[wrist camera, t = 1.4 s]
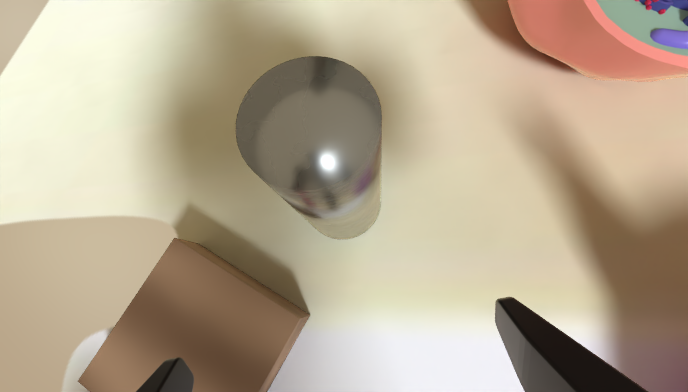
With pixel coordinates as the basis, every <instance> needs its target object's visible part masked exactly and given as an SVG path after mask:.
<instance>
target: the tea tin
mask: <svg viewBox="0 0 688 392" xmlns="http://www.w3.org/2000/svg"><path fill="white" fill-rule="evenodd" d="M381 120H382V115H381V106H380V103H379V99H378V96H377V94H376V92H375V90H374V88H373V86H372V85H371V83H370V82H369V81H368V80H367V78H366V77H365V76H364V75H363V74H362V73H360V72H359V71H358V70H357V69H355V68H354V67H352V66H351V65H349V64H347V63H345V62H342V61H339V60H336V59H332V58H328V57H319V56H315V57H302V58H297V59H293V60H290V61H287V62H284V63H282V64H280V65H278V66H276V67H274V68H272V69H271V70H269V71H268V72H266V73H265V74H264V75H263V76H261V77H260V78H259V79H258V80H257V81H256V82H255V83H254V84H253V85H252V87H251V88H250V89H249V90H248V92H247V94H246V95H245V97H244V99H243V101H242V103H241V105H240V108H239V111H238V114H237V120H236V138H237V143H238V147H239V150H240V152H241V155H242V157H243V158H244V160H245V162H246V163H247V165H248V166H249V167H250V168H251V169H252V170H253V171H254V172H255V173H256V174H257V175H258V176H259V177H260V178H261V179H262V180H263V181H264V182H266V183H267V184H268V185H269V186H270V187H271V188H272V189H273V190H274V191H275V192H276V193H278V194H279V195H280V196H281V197H282V198H283V199H284V200H285V201H286V202H287V203H288V204H290V205H291V206H292V207H293V208H294V209H295V210H296V211H297V212H298V213H299V214H301V215H302V216H303V217H304V218H305V219H306V220H307V221H308V222H309V223H310V224H311V225H313V226H314V227H315V228H316V229H317V230H318V231H319V232H321V233H322V234H324V235H326V236H328V237H331V238H334V239H350V238H354V237H357V236H359V235H361V234H363V233H364V232H366V231H367V230H368V229H369V228H370V227H371V226H372V225H373V224H374V222H375V221H376V219H377V217H378V214H379V211H380V206H381Z"/></svg>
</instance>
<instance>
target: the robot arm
mask: <svg viewBox="0 0 688 392" xmlns="http://www.w3.org/2000/svg"><path fill="white" fill-rule="evenodd" d="M495 322H496V326H497V329H498V331H499V333H500V336H501V338H502V341H503V343H504V345H505V348H506V350H507V352H508V355H509V357H510V359H511V362H512V364H513V367H514V369H515V371H516V374H517V376H518V378H519V380H520V383H521V385H522V387H523V389H524V391H525V392H648V391H647V390H645V389H644V388H642V387H641V386H639V385H638V384H637V383H635V382H634V381H632V380H631V379H629V378H628V377H626V376H625V375H624V374H622V373H621V372H619V371H618V370H616V369H615V368H614V367H612V366H611V365H609V364H608V363H606V362H605V361H604V360H602V359H601V358H599V357H598V356H596V355H595V354H593V353H592V352H591V351H589V350H588V349H586V348H585V347H583V346H582V345H581V344H579V343H578V342H576V341H575V340H573V339H572V338H571V337H569V336H568V335H566V334H565V333H563V332H562V331H560V330H559V329H558V328H556V327H555V326H553V325H552V324H550V323H549V322H548V321H546V320H545V319H543V318H542V317H540V316H539V315H538V314H536V313H535V312H533V311H532V310H530V309H529V308H527V307H526V306H525V305H523V304H522V303H520V302H519V301H517V300H516V299H515V298H512V297H506V298H500V299H497V300H496V306H495ZM193 385H194V375H193V373H192V371H191V370H190V368H189V367H188V365H187V364H186V363H185V361H184V360H183V359H182V358H181V357H176V358H171V359H167V360H165V361H164V362H163V363H162V364H161V365H160V366H159V367H158V368H157V369H156V370H155V371H154V373H153V374H152V375H151V376H150V377H149V378H148V379H147V380H146V381H145V382H144V383H143V384H142V385H141V387H140V388H139V389H138V390H137V391H136V392H192V391H193Z"/></svg>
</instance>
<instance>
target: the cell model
mask: <svg viewBox="0 0 688 392" xmlns="http://www.w3.org/2000/svg"><path fill="white" fill-rule="evenodd" d="M507 2H508V5H509V8H510V11H511V14H512V17H513V20H514V22H515V25H516V27H517V29H518V31H519V33H520V34H521V36H522V37H523V38H524V40H525V41H526V42H527V43H528V44H529V45H530V46H531V47H532V48H534V49H536V50H537V51H539V52H541V53H544V54H546V55H548V56H550V57H552V58H554V59H556V60H558V61H560V62H562V63H564V64H566V65H568V66H569V67H571V68H573V69H574V70H576V71H578V72H579V73H581V74H583V75H584V76H587V77H590V78H592V79H596V80H625V81H637V82H648V81H658V80H664V79H671V78H684V77H688V0H507Z"/></svg>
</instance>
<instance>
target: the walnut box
mask: <svg viewBox="0 0 688 392" xmlns="http://www.w3.org/2000/svg"><path fill="white" fill-rule="evenodd" d="M309 316H310V314H308V313H306V312H305V311H303V310H302V309H300V308H299V307H297V306H295V305H294V304H292V303H291V302H289V301H288V300H286V299H284V298H283V297H281V296H280V295H278V294H277V293H275V292H273V291H272V290H270V289H269V288H267V287H266V286H264V285H262V284H261V283H259V282H258V281H256V280H255V279H253V278H251V277H250V276H248V275H247V274H245V273H244V272H242V271H240V270H239V269H237V268H236V267H234V266H233V265H231V264H229V263H228V262H226V261H225V260H223V259H222V258H220V257H218V256H217V255H215V254H214V253H212V252H211V251H209V250H207V249H206V248H204V247H203V246H201V245H200V244H198V243H193V242H189V241H185V240H181V239H177V238H174V239H173V241H172V243H171V244H170V245H169V247H168V248H167V250H166V251H165V253H164V254H163V256H162V257H161V259H160V260H159V262H158V263H157V265H156V266H155V268H154V269H153V271H152V272H151V273H150V275H149V276H148V278H147V280H146V281H145V282H144V284H143V285H142V287H141V288H140V290H139V291H138V293H137V294H136V296H135V297H134V299H133V300H132V302H131V303H130V305H129V306H128V308H127V309H126V311H125V312H124V314H123V315H122V317H121V318H120V320H119V321H118V322H117V324H116V325H115V327H114V328H113V330H112V331H111V333H110V334H109V336H108V337H107V339H106V340H105V342H104V343H103V345H102V346H101V348H100V349H99V351H98V352H97V354H96V355H95V357H94V358H93V360H92V361H91V363H90V364H89V366H88V367H87V368H86V370H85V371H84V373H83V374H82V376H81V377H80V379H79V380H78V382H79V383H80V384H82V385H83V386H84V387H85V388H86V389H87V390H89V391H90V392H136V391H137V390H138V389H139V388H140V387H141V385H142V384H143V383H144V382H145V381H146V380H147V379H148V378H149V377H150V376H151V375H152V374H153V373H154V371H155V370H156V369H157V368H158V367H159V366H160V365H161V364H162V363H163V362H164V361H165V360H167V359H171V358H176V357H181V358H182V359H183V360H184V361H185V363H186V364H187V365H188V367H189V368H190V370H191V371H192V373H193V375H194V385H193V391H192V392H267V391H268V389H269V387H270V386H271V384H272V382H273V380H274V378H275V377H276V375H277V373H278V371H279V369H280V368H281V366H282V364H283V362H284V361H285V359H286V357H287V355H288V353H289V352H290V350H291V348H292V346H293V345H294V343H295V341H296V339H297V337H298V336H299V334H300V332H301V330H302V328H303V327H304V325H305V323H306V321H307V320H308V318H309Z"/></svg>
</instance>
